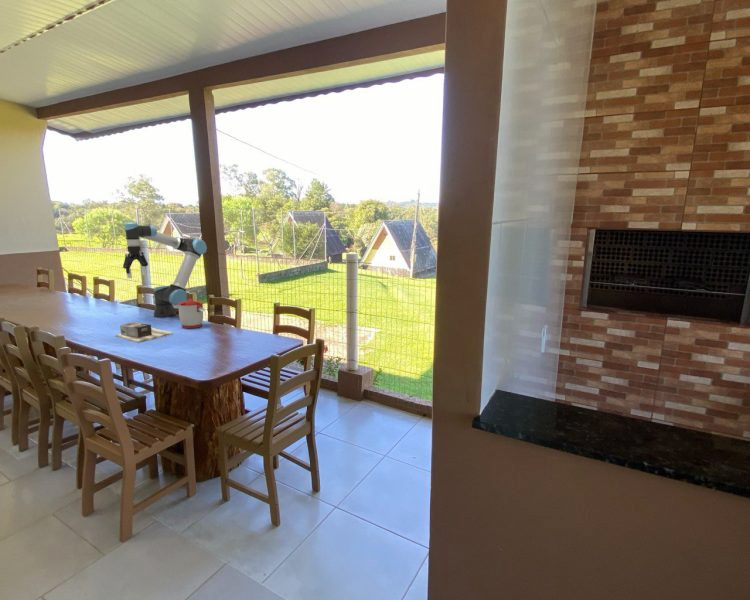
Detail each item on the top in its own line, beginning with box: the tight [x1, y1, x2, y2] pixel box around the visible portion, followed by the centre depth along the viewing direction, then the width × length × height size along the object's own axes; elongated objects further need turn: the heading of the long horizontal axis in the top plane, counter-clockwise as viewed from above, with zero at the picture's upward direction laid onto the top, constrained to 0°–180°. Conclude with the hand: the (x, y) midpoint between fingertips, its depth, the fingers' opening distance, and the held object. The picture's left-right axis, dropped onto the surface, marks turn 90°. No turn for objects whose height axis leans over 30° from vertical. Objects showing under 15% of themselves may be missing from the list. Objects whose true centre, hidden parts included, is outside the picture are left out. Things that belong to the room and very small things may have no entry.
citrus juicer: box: [177, 298, 205, 329], centre depth 260 cm, size 16×17×20 cm
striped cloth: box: [115, 327, 174, 343], centre depth 239 cm, size 22×24×1 cm
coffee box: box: [119, 321, 152, 337], centre depth 236 cm, size 9×6×16 cm
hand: (137, 276), depth 259 cm, fingers open, 13 cm apart
